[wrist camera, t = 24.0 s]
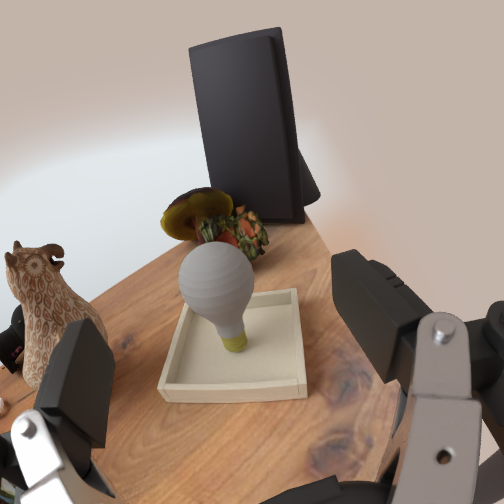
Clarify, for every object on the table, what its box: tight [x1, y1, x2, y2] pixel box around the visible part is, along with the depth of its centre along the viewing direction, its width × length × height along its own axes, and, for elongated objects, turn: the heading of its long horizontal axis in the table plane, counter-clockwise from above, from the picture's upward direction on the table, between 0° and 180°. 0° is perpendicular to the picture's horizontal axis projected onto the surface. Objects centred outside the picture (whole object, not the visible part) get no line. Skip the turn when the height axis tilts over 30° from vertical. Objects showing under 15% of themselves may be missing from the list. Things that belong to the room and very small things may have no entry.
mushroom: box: [160, 187, 269, 262], centre depth 40 cm, size 12×12×15 cm
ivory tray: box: [157, 288, 308, 403], centre depth 25 cm, size 11×11×2 cm
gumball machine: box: [0, 304, 25, 374], centre depth 27 cm, size 7×6×10 cm
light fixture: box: [189, 27, 321, 223], centre depth 48 cm, size 17×21×30 cm
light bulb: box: [179, 242, 254, 352], centre depth 23 cm, size 6×6×10 cm
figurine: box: [5, 241, 108, 391], centre depth 19 cm, size 9×10×15 cm
